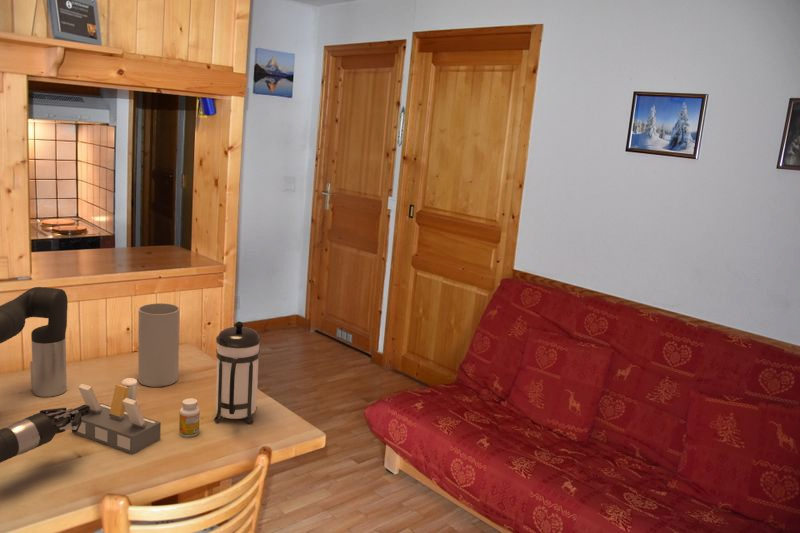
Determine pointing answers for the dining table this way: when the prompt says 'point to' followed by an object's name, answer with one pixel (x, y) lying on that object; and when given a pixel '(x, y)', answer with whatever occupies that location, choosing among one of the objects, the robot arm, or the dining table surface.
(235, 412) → the coffee press
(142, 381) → the cylinder vase
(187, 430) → the supplement bottle
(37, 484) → the dining table surface
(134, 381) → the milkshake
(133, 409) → the rocker right
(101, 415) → the strip block
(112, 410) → the rocker amber
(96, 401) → the rocker left
